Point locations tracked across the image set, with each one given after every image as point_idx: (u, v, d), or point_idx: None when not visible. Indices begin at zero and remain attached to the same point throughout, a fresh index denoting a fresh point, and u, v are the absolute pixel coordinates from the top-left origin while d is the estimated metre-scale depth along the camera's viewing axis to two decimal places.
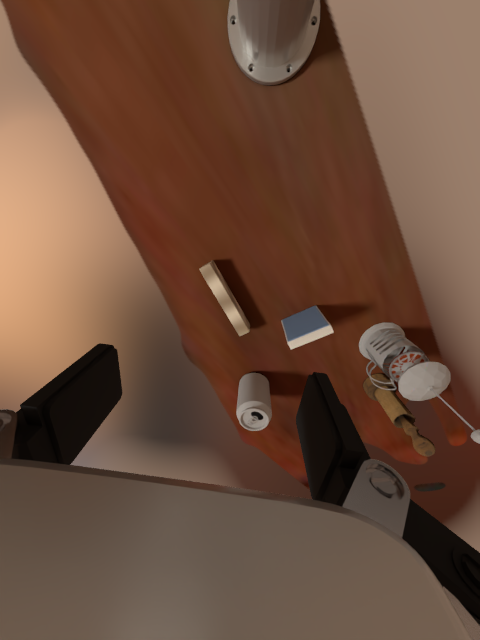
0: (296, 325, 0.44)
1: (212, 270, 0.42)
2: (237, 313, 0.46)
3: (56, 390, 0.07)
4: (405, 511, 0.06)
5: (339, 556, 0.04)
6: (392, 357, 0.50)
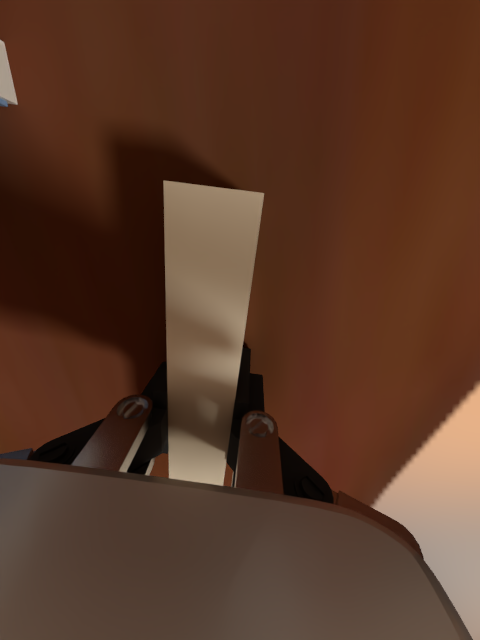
0: None
1: None
2: (175, 352, 0.07)
3: None
4: (277, 439, 0.07)
5: (339, 556, 0.04)
6: None
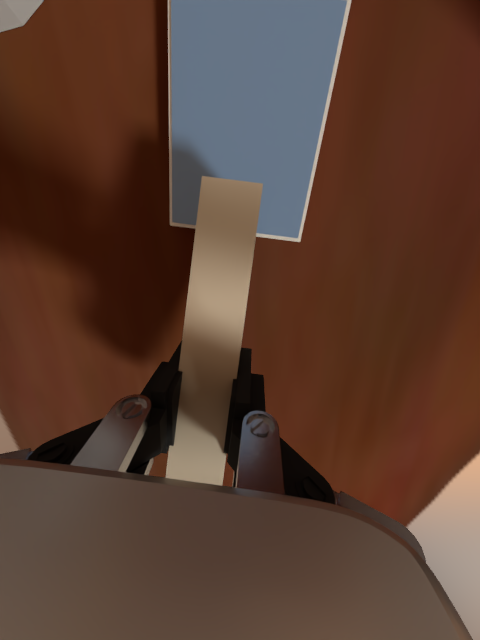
0: (272, 124, 0.11)
1: None
2: (193, 298, 0.09)
3: (171, 379, 0.09)
4: (278, 439, 0.07)
5: (339, 556, 0.04)
6: None
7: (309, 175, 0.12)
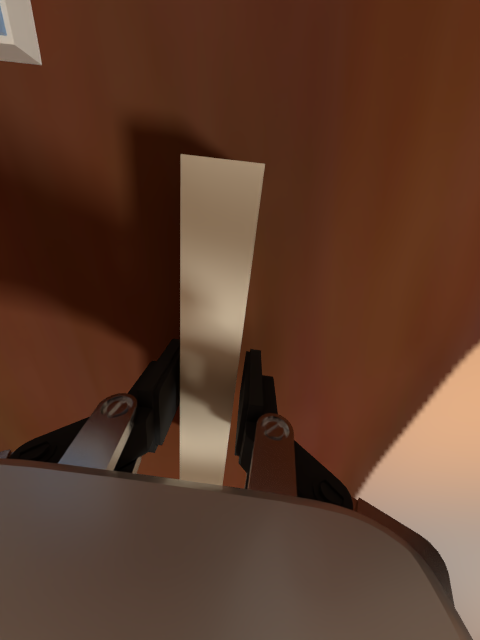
0: None
1: (184, 474, 0.12)
2: (187, 310, 0.08)
3: (159, 378, 0.08)
4: (292, 443, 0.07)
5: (339, 556, 0.04)
6: None
7: None
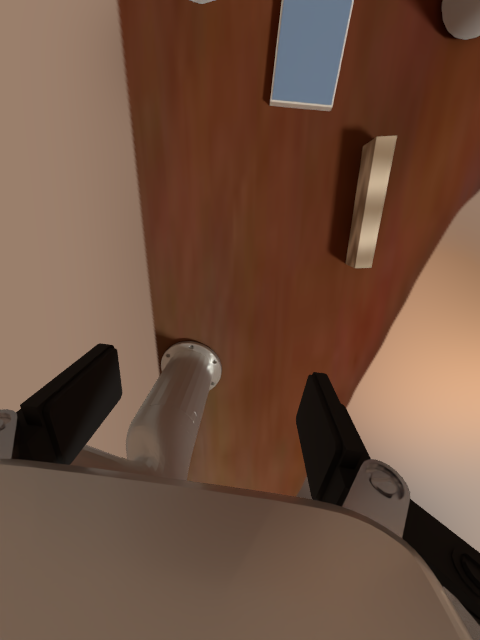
0: (322, 46, 0.27)
1: (358, 258, 0.33)
2: (371, 181, 0.30)
3: (56, 390, 0.07)
4: (405, 511, 0.06)
5: (339, 556, 0.04)
6: None
7: (337, 70, 0.27)
